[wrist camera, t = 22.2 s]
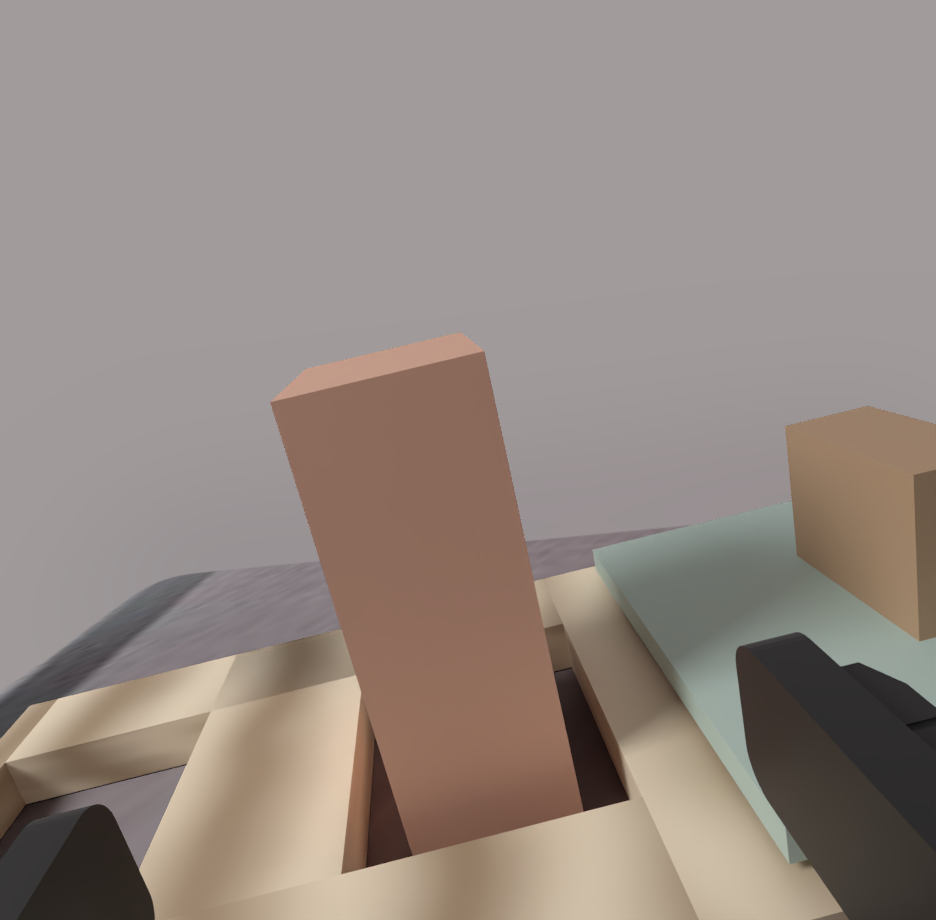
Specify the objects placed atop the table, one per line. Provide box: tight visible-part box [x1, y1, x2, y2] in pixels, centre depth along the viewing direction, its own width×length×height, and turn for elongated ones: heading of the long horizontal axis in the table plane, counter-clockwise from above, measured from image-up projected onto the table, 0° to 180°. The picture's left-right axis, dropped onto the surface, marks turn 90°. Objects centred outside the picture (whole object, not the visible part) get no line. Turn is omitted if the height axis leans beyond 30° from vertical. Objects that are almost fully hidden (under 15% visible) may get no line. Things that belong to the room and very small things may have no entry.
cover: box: [593, 406, 936, 864], centre depth 21 cm, size 10×15×6 cm, turn 5°
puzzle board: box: [0, 566, 849, 920], centre depth 21 cm, size 32×17×2 cm, turn 95°
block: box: [270, 332, 584, 856], centre depth 20 cm, size 5×6×14 cm
